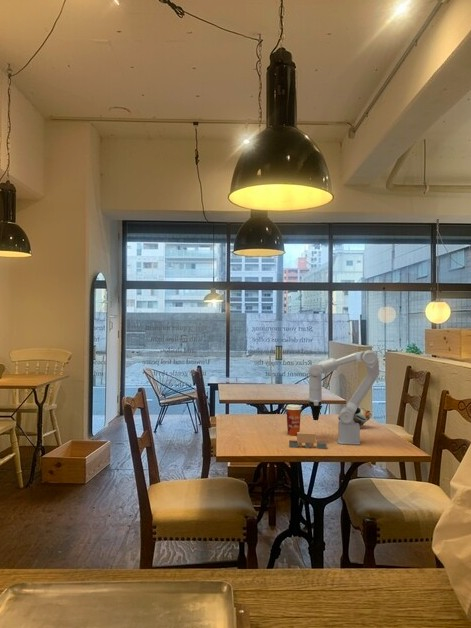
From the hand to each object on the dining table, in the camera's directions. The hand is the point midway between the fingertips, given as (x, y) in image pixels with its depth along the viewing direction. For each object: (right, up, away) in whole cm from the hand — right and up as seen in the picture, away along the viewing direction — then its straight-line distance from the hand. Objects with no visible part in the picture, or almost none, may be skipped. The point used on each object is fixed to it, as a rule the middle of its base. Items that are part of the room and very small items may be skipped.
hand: (315, 418), depth 202 cm
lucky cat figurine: (+26, -12, +28) cm, 40 cm away
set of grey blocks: (-6, -9, -13) cm, 17 cm away
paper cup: (-9, -10, +10) cm, 17 cm away
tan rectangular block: (-6, -9, -13) cm, 17 cm away
